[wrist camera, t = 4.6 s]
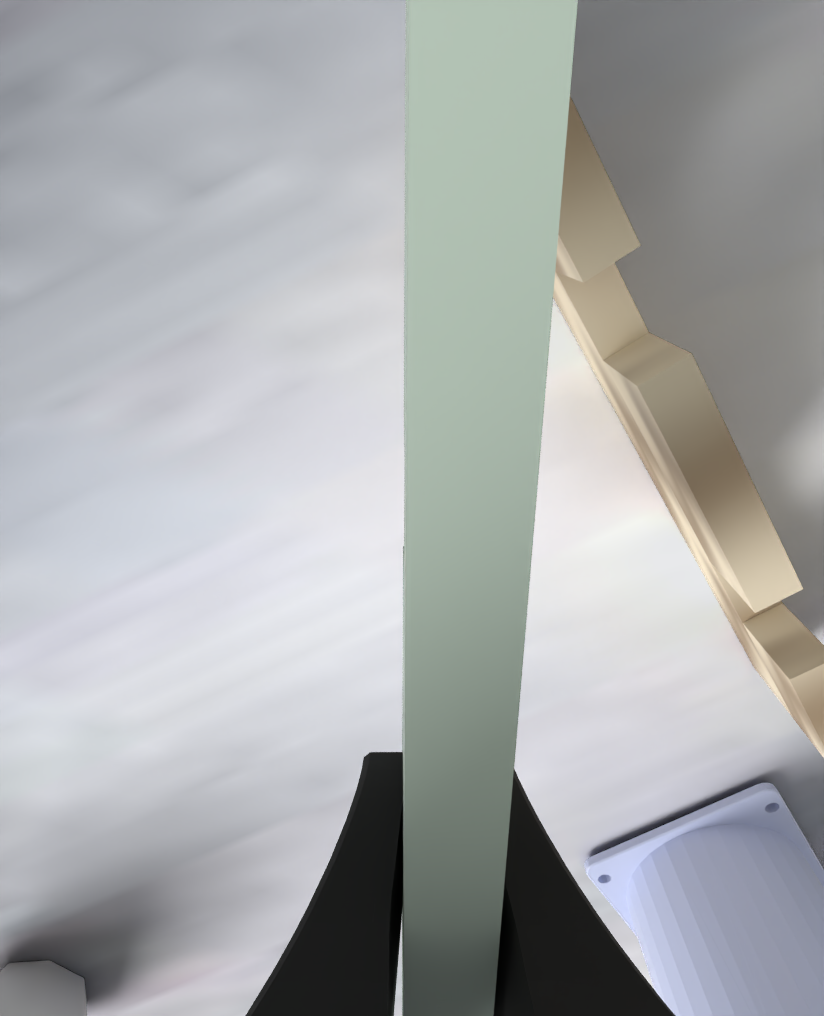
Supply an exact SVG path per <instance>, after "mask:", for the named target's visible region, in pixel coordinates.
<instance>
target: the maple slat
mask: <svg viewBox="0 0 824 1016" xmlns="http://www.w3.org/2000/svg"><path fill="white" fill-rule="evenodd" d="M640 246H641V245H640V242H639V240H638V238H637V236H636V234H635V232H634V230H633V228H632V226H631V223H630V221H629V219H628V217H627V215H626V213H625V211H624V209H623V207H622V204H621V202H620V200H619V198H618V196H617V194H616V192H615V190H614V187H613V185H612V183H611V181H610V179H609V177H608V175H607V173H606V171H605V168H604V166H603V164H602V162H601V160H600V158H599V156H598V154H597V152H596V149H595V147H594V145H593V143H592V141H591V139H590V137H589V135H588V132H587V130H586V128H585V126H584V124H583V122H582V120H581V118H580V116H579V113H578V111H577V109H576V107H575V105H574V103H573V101H572V99H571V96H570V100H569V112H568V124H567V136H566V148H565V160H564V172H563V184H562V196H561V208H560V220H559V233H558V245H557V257H556V269H555V281H554V293H553V298H554V299H555V301H556V303H557V305H558V307H559V309H560V311H561V312H562V314H563V316H564V318H565V320H566V322H567V323H568V325H569V327H570V329H571V331H572V333H573V334H574V336H575V338H576V340H577V342H578V344H579V346H580V347H581V349H582V351H583V353H584V355H585V357H586V358H587V360H588V362H589V364H590V366H591V368H592V370H593V371H594V373H595V375H596V377H597V379H598V381H599V382H600V384H601V386H602V388H603V390H604V392H605V393H606V395H607V397H608V399H609V401H610V403H611V405H612V406H613V408H614V410H615V412H616V414H617V416H618V417H619V419H620V421H621V423H622V425H623V427H624V429H625V430H626V432H627V434H628V436H629V438H630V440H631V441H632V443H633V445H634V447H635V449H636V451H637V452H638V454H639V456H640V458H641V460H642V462H643V464H644V465H645V467H646V469H647V471H648V473H649V475H650V476H651V478H652V480H653V482H654V484H655V486H656V488H657V489H658V491H659V493H660V495H661V497H662V499H663V500H664V502H665V504H666V506H667V508H668V510H669V511H670V513H671V515H672V517H673V519H674V521H675V523H676V524H677V526H678V528H679V530H680V532H681V534H682V535H683V537H684V539H685V541H686V543H687V545H688V547H689V548H690V550H691V552H692V554H693V556H694V558H695V559H696V561H697V563H698V565H699V567H700V569H701V570H702V572H703V574H704V576H705V578H706V580H707V582H708V583H709V585H710V587H711V589H712V591H713V593H714V594H715V596H716V598H717V600H718V602H719V604H720V606H721V607H722V609H723V611H724V613H725V615H726V617H727V618H728V620H729V622H730V624H731V626H732V628H733V629H734V631H735V633H736V635H737V637H738V639H739V641H740V642H741V644H742V646H743V648H744V650H745V652H746V653H747V655H748V657H749V659H750V661H751V663H752V665H753V666H754V668H755V669H756V671H757V672H758V673H759V675H760V676H761V677H762V678H763V680H764V681H765V682H766V684H767V685H768V686H769V688H770V689H771V690H772V691H773V693H774V694H775V695H776V697H777V698H778V699H779V701H780V702H781V703H782V704H783V706H784V707H785V708H786V710H787V711H788V712H789V713H790V715H791V716H792V717H793V719H794V720H795V721H796V723H797V724H798V725H799V726H800V728H801V729H802V730H803V732H804V733H805V734H806V736H807V737H808V738H809V739H810V741H811V742H812V743H813V745H814V746H815V747H816V749H817V750H818V751H819V752H820V754H821V755H822V756H823V758H824V645H823V644H822V643H821V642H820V641H819V640H818V639H817V638H816V637H815V636H814V635H813V634H812V633H811V632H810V631H809V630H808V629H807V628H806V627H805V626H804V625H803V624H802V623H801V622H800V621H799V619H798V618H797V617H796V616H795V615H794V614H793V613H792V612H791V611H790V610H789V609H788V608H787V607H786V606H785V605H784V604H783V603H782V601H781V600H783V599H785V598H787V597H789V596H791V595H793V594H795V593H797V592H799V591H801V590H803V587H802V585H801V583H800V581H799V579H798V577H797V575H796V572H795V570H794V568H793V566H792V564H791V562H790V560H789V558H788V556H787V553H786V551H785V549H784V547H783V545H782V543H781V541H780V539H779V537H778V534H777V532H776V530H775V528H774V526H773V524H772V522H771V520H770V517H769V515H768V513H767V511H766V509H765V507H764V505H763V503H762V501H761V498H760V496H759V494H758V492H757V490H756V488H755V486H754V484H753V482H752V479H751V477H750V475H749V473H748V471H747V469H746V467H745V465H744V462H743V460H742V458H741V456H740V454H739V452H738V450H737V448H736V446H735V443H734V441H733V439H732V437H731V435H730V433H729V431H728V429H727V427H726V424H725V422H724V420H723V418H722V416H721V414H720V412H719V410H718V407H717V405H716V403H715V401H714V399H713V397H712V395H711V393H710V391H709V388H708V386H707V384H706V382H705V380H704V378H703V376H702V374H701V372H700V369H699V367H698V365H697V363H696V361H695V359H694V357H693V355H692V353H690V352H688V351H686V350H684V349H682V348H680V347H678V346H676V345H674V344H671V343H669V342H667V341H665V340H663V339H661V338H659V337H657V336H655V335H653V334H651V333H649V331H648V329H647V327H646V325H645V323H644V321H643V319H642V317H641V315H640V313H639V311H638V309H637V307H636V305H635V303H634V301H633V299H632V297H631V295H630V293H629V291H628V289H627V287H626V285H625V283H624V281H623V279H622V277H621V275H620V273H619V271H618V269H617V267H616V265H615V262H617V261H618V260H620V259H621V258H623V257H624V256H626V255H627V254H629V253H630V252H632V251H633V250H635V249H637V248H638V247H640Z"/></svg>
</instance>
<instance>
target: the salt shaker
mask: <svg viewBox="0 0 824 1016" xmlns="http://www.w3.org/2000/svg"><path fill="white" fill-rule="evenodd" d="M0 1016H87V1000H86V990H85V981H84V978H82V977H81V976H79V975H77V974H75V973H73V972H71V971H69V970H67V969H65V968H63V967H61V966H59V965H57V964H55V963H54V962H52V961H50V960H48V961H33V962H18V963H8V964H7V965H6V966H5V967H4V968H3V969H2V970H1V971H0Z"/></svg>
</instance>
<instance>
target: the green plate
mask: <svg viewBox="0 0 824 1016" xmlns="http://www.w3.org/2000/svg"><path fill="white" fill-rule="evenodd" d="M577 4H578V0H406V57H405V276H404V447H405V499H404V546H403V714H402V752H403V896H402V1016H493V1014H494V1002H495V990H496V978H497V966H498V954H499V942H500V930H501V918H502V906H503V894H504V882H505V870H506V858H507V846H508V834H509V822H510V810H511V798H512V786H513V774H514V762H515V750H516V738H517V726H518V714H519V702H520V690H521V678H522V665H523V653H524V641H525V629H526V617H527V605H528V593H529V581H530V569H531V557H532V545H533V533H534V521H535V509H536V497H537V485H538V473H539V461H540V449H541V437H542V425H543V413H544V401H545V389H546V377H547V365H548V353H549V341H550V329H551V317H552V305H553V293H554V281H555V269H556V257H557V245H558V233H559V220H560V208H561V196H562V184H563V172H564V160H565V148H566V136H567V124H568V112H569V100H570V88H571V76H572V64H573V52H574V40H575V28H576V16H577Z"/></svg>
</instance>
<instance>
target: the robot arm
mask: <svg viewBox="0 0 824 1016" xmlns="http://www.w3.org/2000/svg"><path fill="white" fill-rule="evenodd" d="M584 867H585V870H586V873H587V876H588V877H589V878H590V879H591V881H592V882H593V883H594V884H595V885H596V887H597V888H598V889H599V890H600V892H601V893H602V894H603V895H604V897H605V898H606V899H607V900H608V901H609V903H610V904H611V905H612V906H613V908H614V909H615V910H616V911H617V913H618V914H619V915H620V916H621V917H622V919H623V920H624V921H625V922H626V924H627V925H628V926H629V927H630V928H631V930H632V931H633V932H634V933H635V935H636V936H637V937H638V940H639V943H640V946H641V950H642V953H643V956H644V959H645V962H646V965H647V968H648V971H649V974H650V977H651V980H652V983H653V987H654V989H653V988H652V986H651V985H650V984H649V983H648V981H647V980H646V979H645V978H644V976H643V975H642V974H641V973H640V971H639V970H638V969H637V967H636V966H635V965H634V963H633V962H632V961H631V960H630V958H629V957H628V956H627V954H626V953H625V952H624V950H623V949H622V948H621V946H620V945H619V944H618V942H617V941H616V940H615V938H614V937H613V935H612V934H611V933H610V931H609V930H608V928H607V927H606V926H605V924H604V923H603V921H602V920H601V918H600V917H599V916H598V914H597V913H596V911H595V910H594V908H593V907H592V905H591V904H590V902H589V901H588V899H587V898H586V896H585V895H584V893H583V892H582V890H581V889H580V887H579V886H578V884H577V882H576V881H575V879H574V878H573V876H572V875H571V873H570V871H569V870H568V868H567V867H566V865H565V863H564V862H563V860H562V858H561V856H560V855H559V853H558V851H557V850H556V848H555V846H554V845H553V843H552V841H551V840H550V838H549V836H548V834H547V833H546V831H545V829H544V827H543V826H542V824H541V822H540V820H539V818H538V816H537V815H536V813H535V811H534V809H533V807H532V805H531V803H530V801H529V799H528V797H527V795H526V793H525V791H524V789H523V787H522V785H521V783H520V781H519V779H518V776H517V774H516V772H515V770H514V774H513V786H512V798H511V810H510V822H509V834H508V846H507V858H506V870H505V882H504V894H503V906H502V918H501V930H500V942H499V954H498V966H497V978H496V990H495V1002H494V1014H493V1016H824V869H823V867H822V865H821V864H820V862H819V860H818V859H817V857H816V855H815V853H814V852H813V850H812V848H811V847H810V845H809V843H808V841H807V840H806V838H805V836H804V834H803V833H802V831H801V829H800V828H799V826H798V824H797V822H796V821H795V819H794V817H793V816H792V814H791V812H790V810H789V809H788V807H787V805H786V804H785V802H784V800H783V798H782V797H781V795H780V793H779V792H778V790H777V789H776V787H775V786H774V785H773V784H771V783H760V784H757V785H754V786H752V787H750V788H747V789H745V790H743V791H741V792H738V793H736V794H734V795H731V796H729V797H727V798H724V799H722V800H720V801H718V802H715V803H713V804H711V805H708V806H706V807H704V808H701V809H699V810H697V811H695V812H692V813H690V814H688V815H685V816H683V817H681V818H678V819H676V820H674V821H672V822H669V823H667V824H665V825H662V826H660V827H658V828H655V829H653V830H651V831H649V832H646V833H644V834H642V835H639V836H637V837H635V838H632V839H630V840H628V841H626V842H623V843H621V844H619V845H616V846H614V847H612V848H609V849H607V850H605V851H603V852H600V853H598V854H596V855H593V856H591V857H590V858H588V859H587V860H586V861H585V864H584ZM402 896H403V752H370V753H369V754H368V755H366V756H365V757H364V760H363V766H362V771H361V775H360V779H359V783H358V786H357V790H356V793H355V796H354V799H353V802H352V805H351V808H350V811H349V814H348V816H347V819H346V822H345V824H344V827H343V829H342V832H341V834H340V837H339V839H338V842H337V844H336V847H335V849H334V852H333V854H332V856H331V859H330V861H329V863H328V866H327V868H326V870H325V872H324V874H323V876H322V878H321V880H320V882H319V885H318V887H317V889H316V891H315V893H314V895H313V897H312V899H311V901H310V903H309V906H308V908H307V910H306V912H305V914H304V916H303V917H302V919H301V921H300V923H299V925H298V927H297V929H296V931H295V933H294V934H293V936H292V938H291V940H290V942H289V944H288V945H287V947H286V949H285V951H284V953H283V954H282V956H281V958H280V960H279V961H278V963H277V965H276V967H275V968H274V970H273V972H272V974H271V975H270V977H269V978H268V980H267V982H266V983H265V985H264V987H263V988H262V990H261V992H260V993H259V995H258V996H257V998H256V1000H255V1001H254V1003H253V1005H252V1006H251V1008H250V1009H249V1011H248V1013H247V1014H246V1016H394V1003H395V991H396V979H397V967H398V955H399V942H400V930H401V918H402Z"/></svg>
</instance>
